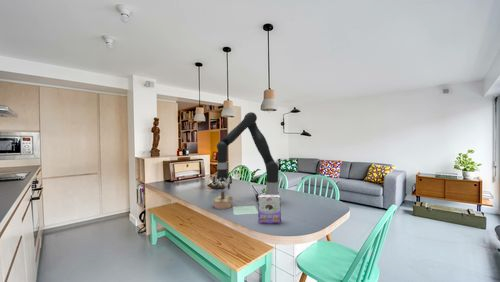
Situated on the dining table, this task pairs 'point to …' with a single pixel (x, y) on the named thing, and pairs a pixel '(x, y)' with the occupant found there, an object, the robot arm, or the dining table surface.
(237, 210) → the mat
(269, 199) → the candy box
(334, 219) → the dining table surface
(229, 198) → the lid
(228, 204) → the bowl
